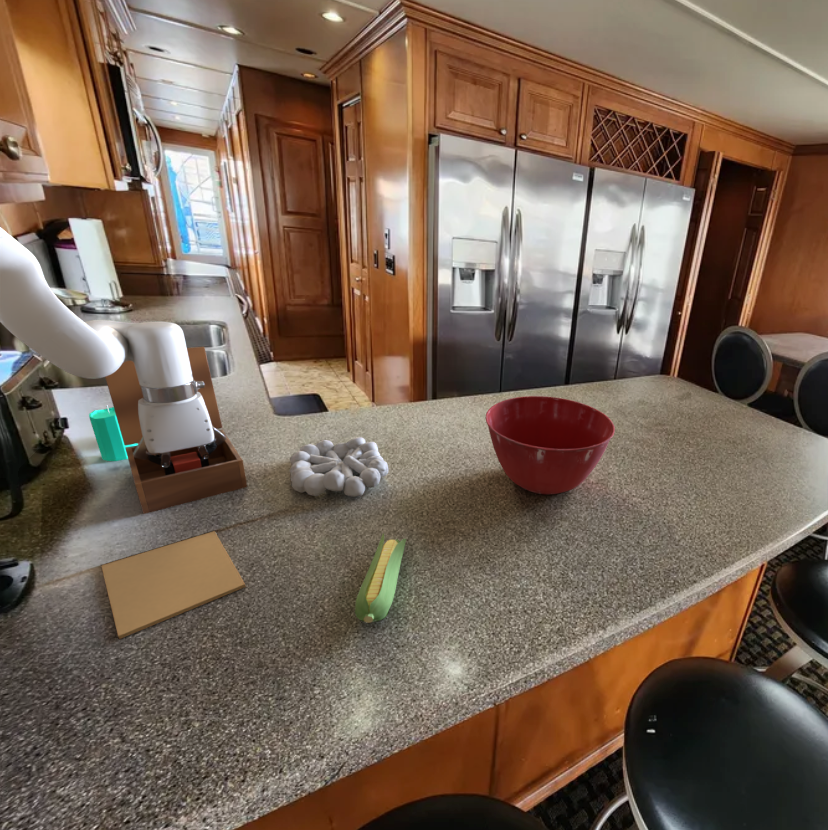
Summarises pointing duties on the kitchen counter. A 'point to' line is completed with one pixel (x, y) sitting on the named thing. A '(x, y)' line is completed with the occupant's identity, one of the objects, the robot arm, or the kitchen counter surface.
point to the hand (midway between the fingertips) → (189, 477)
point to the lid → (129, 393)
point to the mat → (168, 581)
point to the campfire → (337, 467)
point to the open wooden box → (187, 478)
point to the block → (186, 462)
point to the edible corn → (380, 582)
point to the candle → (108, 435)
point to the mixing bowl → (548, 441)
